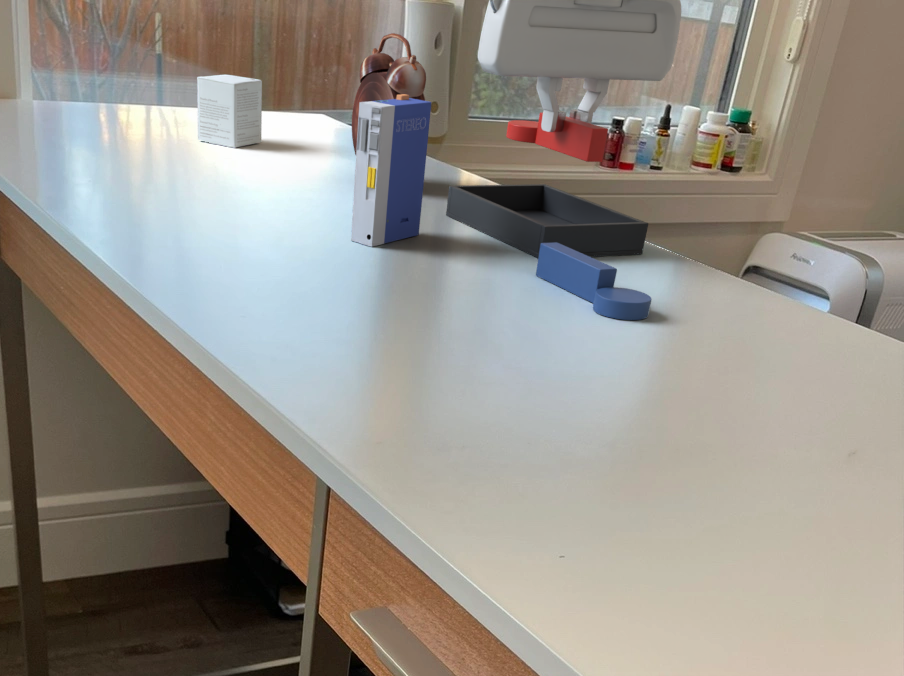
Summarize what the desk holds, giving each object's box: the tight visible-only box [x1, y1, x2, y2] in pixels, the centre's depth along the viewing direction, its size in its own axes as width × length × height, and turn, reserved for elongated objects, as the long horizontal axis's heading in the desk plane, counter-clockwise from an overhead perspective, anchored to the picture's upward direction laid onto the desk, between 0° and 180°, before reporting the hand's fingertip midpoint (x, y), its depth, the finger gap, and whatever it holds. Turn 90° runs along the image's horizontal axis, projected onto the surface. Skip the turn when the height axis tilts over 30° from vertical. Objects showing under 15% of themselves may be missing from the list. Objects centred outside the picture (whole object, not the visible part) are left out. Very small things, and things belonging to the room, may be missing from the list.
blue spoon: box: [535, 242, 653, 321], centre depth 95 cm, size 14×5×3 cm, turn 26°
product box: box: [196, 74, 263, 149], centre depth 143 cm, size 6×6×7 cm
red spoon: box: [505, 112, 609, 163], centre depth 109 cm, size 14×5×3 cm, turn 26°
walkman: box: [350, 94, 432, 247], centre depth 104 cm, size 8×3×12 cm, turn 143°
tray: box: [445, 183, 649, 259], centre depth 114 cm, size 18×12×3 cm
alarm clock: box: [351, 33, 427, 156], centre depth 126 cm, size 11×5×15 cm, turn 28°
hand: (565, 131), depth 108 cm, fingers closed on red spoon, 2 cm apart
